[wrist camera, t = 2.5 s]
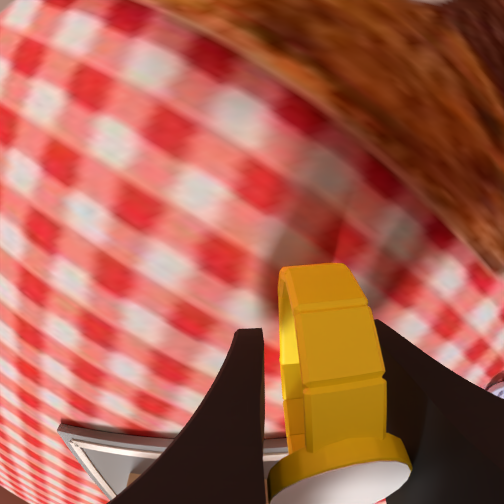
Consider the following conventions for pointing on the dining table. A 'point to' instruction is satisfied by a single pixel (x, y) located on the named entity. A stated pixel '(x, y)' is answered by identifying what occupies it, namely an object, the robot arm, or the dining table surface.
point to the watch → (332, 394)
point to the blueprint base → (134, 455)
